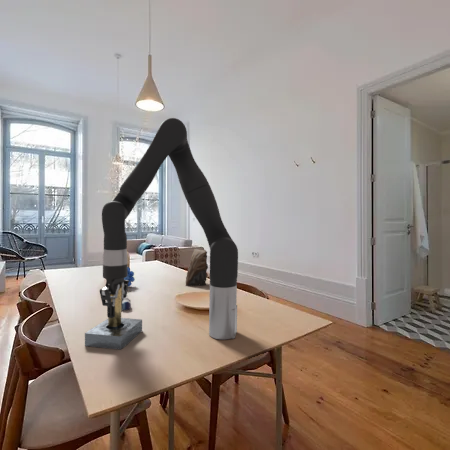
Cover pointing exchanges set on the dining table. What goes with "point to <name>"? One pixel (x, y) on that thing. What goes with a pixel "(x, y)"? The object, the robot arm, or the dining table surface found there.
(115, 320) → the brass plug
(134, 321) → the plate
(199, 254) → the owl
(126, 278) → the blue flower
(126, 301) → the white electric toothbrush
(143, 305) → the dining table surface
